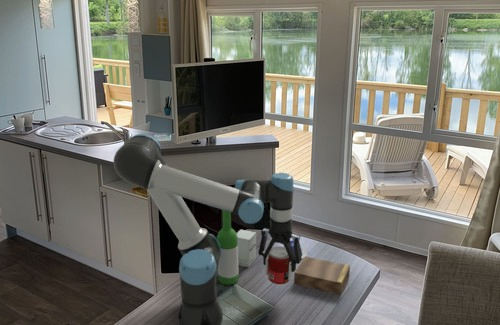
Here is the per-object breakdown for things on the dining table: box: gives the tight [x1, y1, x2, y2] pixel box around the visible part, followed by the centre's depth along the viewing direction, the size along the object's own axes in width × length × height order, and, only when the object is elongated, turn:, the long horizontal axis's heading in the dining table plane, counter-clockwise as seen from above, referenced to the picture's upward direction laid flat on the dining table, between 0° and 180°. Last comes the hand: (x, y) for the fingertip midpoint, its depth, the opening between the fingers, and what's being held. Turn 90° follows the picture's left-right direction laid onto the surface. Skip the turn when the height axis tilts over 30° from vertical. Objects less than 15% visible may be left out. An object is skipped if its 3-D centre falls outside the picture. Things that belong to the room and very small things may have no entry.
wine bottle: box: [216, 210, 240, 286], centre depth 176 cm, size 8×8×30 cm
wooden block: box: [293, 255, 351, 296], centre depth 179 cm, size 18×13×5 cm
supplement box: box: [236, 229, 257, 268], centre depth 192 cm, size 7×7×13 cm
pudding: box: [290, 240, 308, 259], centre depth 199 cm, size 12×12×5 cm
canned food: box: [267, 246, 291, 285], centre depth 166 cm, size 8×8×11 cm
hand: (279, 275), depth 168 cm, fingers closed on canned food, 8 cm apart
